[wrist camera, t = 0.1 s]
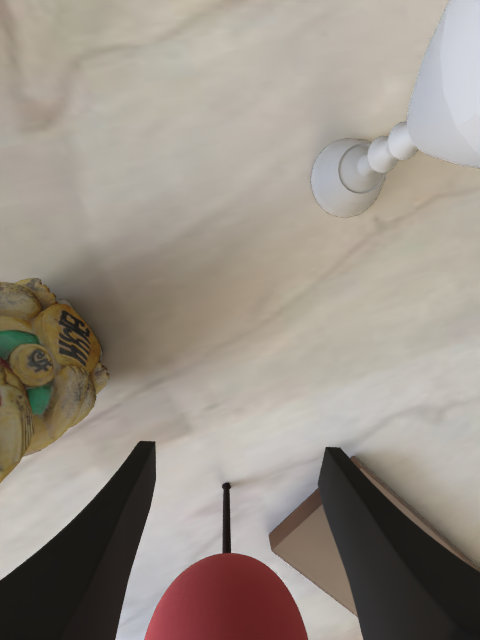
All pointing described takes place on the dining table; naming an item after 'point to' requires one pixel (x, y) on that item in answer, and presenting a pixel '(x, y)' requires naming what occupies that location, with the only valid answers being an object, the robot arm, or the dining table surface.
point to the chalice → (415, 120)
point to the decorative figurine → (42, 370)
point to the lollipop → (227, 599)
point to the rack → (333, 542)
